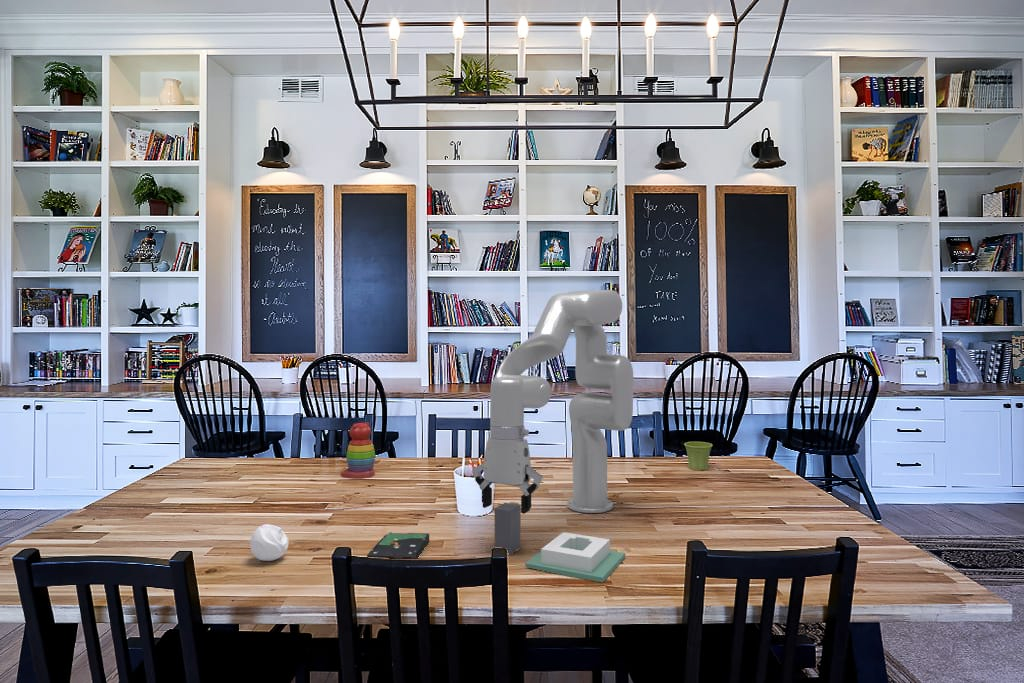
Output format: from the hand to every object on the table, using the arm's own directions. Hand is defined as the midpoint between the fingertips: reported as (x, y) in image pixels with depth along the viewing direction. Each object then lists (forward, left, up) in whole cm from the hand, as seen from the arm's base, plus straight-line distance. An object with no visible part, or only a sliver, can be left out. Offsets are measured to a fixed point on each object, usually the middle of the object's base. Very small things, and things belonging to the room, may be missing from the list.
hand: (506, 509), depth 144 cm
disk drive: (+11, -21, -10) cm, 26 cm away
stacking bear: (-42, -77, -10) cm, 88 cm away
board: (-1, +17, -10) cm, 19 cm away
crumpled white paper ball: (+27, -44, -10) cm, 53 cm away
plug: (-1, 0, -10) cm, 10 cm away
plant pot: (-101, +23, -10) cm, 104 cm away
